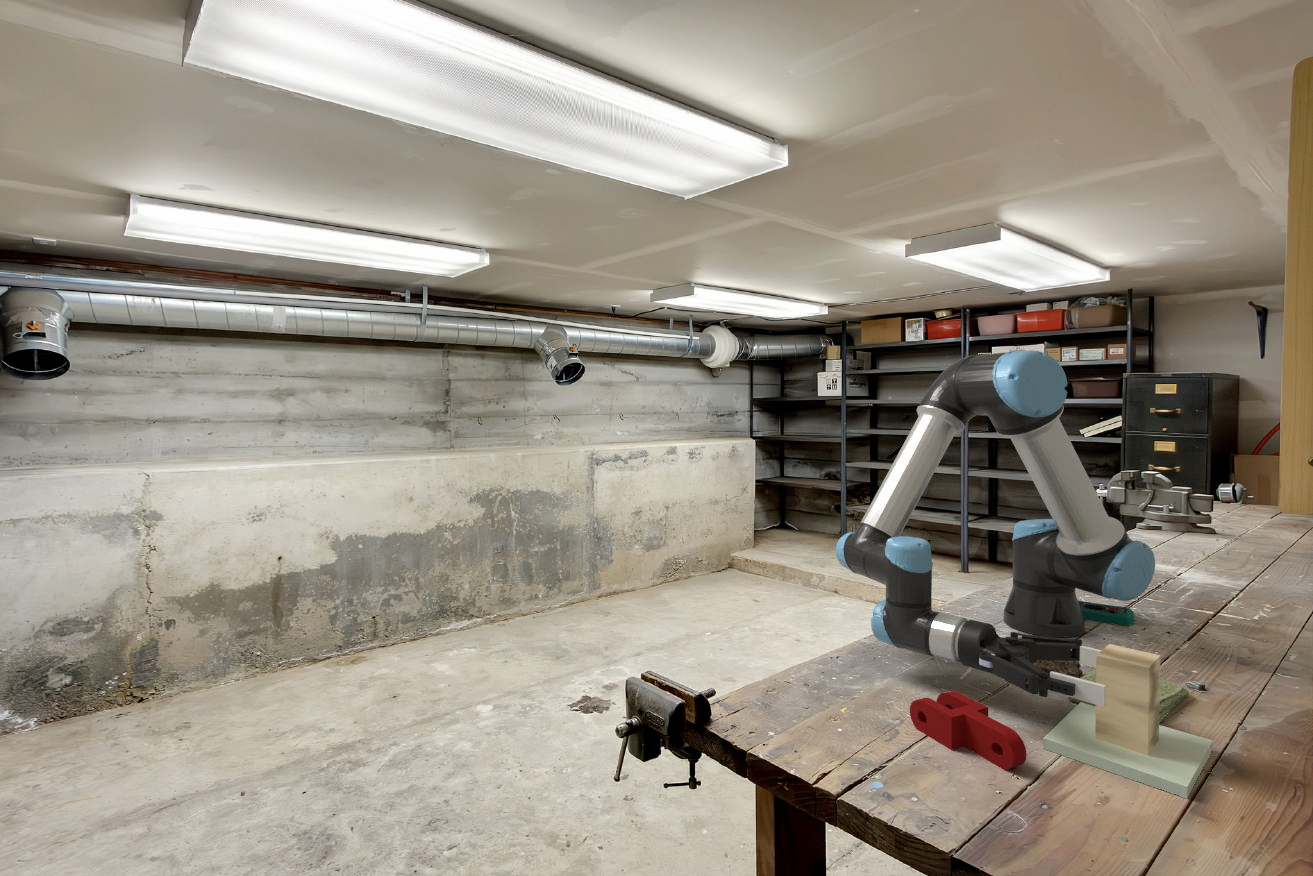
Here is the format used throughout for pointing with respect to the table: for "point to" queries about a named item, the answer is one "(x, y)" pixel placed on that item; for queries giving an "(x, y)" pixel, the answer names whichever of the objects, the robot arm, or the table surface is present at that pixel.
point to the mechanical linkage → (968, 728)
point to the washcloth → (1168, 694)
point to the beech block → (1128, 698)
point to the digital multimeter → (1107, 613)
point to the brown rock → (1060, 667)
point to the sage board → (1132, 753)
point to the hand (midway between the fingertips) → (1119, 680)
